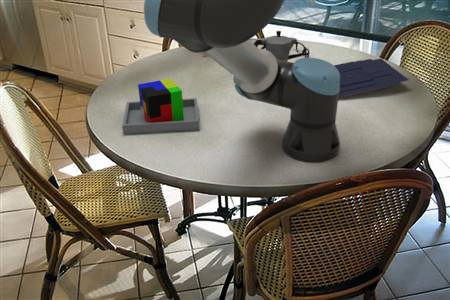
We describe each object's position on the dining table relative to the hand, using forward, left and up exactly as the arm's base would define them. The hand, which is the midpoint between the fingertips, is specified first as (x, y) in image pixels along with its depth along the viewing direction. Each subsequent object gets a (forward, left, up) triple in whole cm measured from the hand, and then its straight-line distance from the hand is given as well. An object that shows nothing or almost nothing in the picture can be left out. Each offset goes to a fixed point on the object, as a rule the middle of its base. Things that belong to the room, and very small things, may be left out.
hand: (286, 3), depth 125 cm
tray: (+6, +35, -35) cm, 50 cm away
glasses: (+53, -11, -35) cm, 65 cm away
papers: (+26, -30, -35) cm, 53 cm away
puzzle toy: (+6, +35, -34) cm, 49 cm away
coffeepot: (+30, -3, -35) cm, 46 cm away
